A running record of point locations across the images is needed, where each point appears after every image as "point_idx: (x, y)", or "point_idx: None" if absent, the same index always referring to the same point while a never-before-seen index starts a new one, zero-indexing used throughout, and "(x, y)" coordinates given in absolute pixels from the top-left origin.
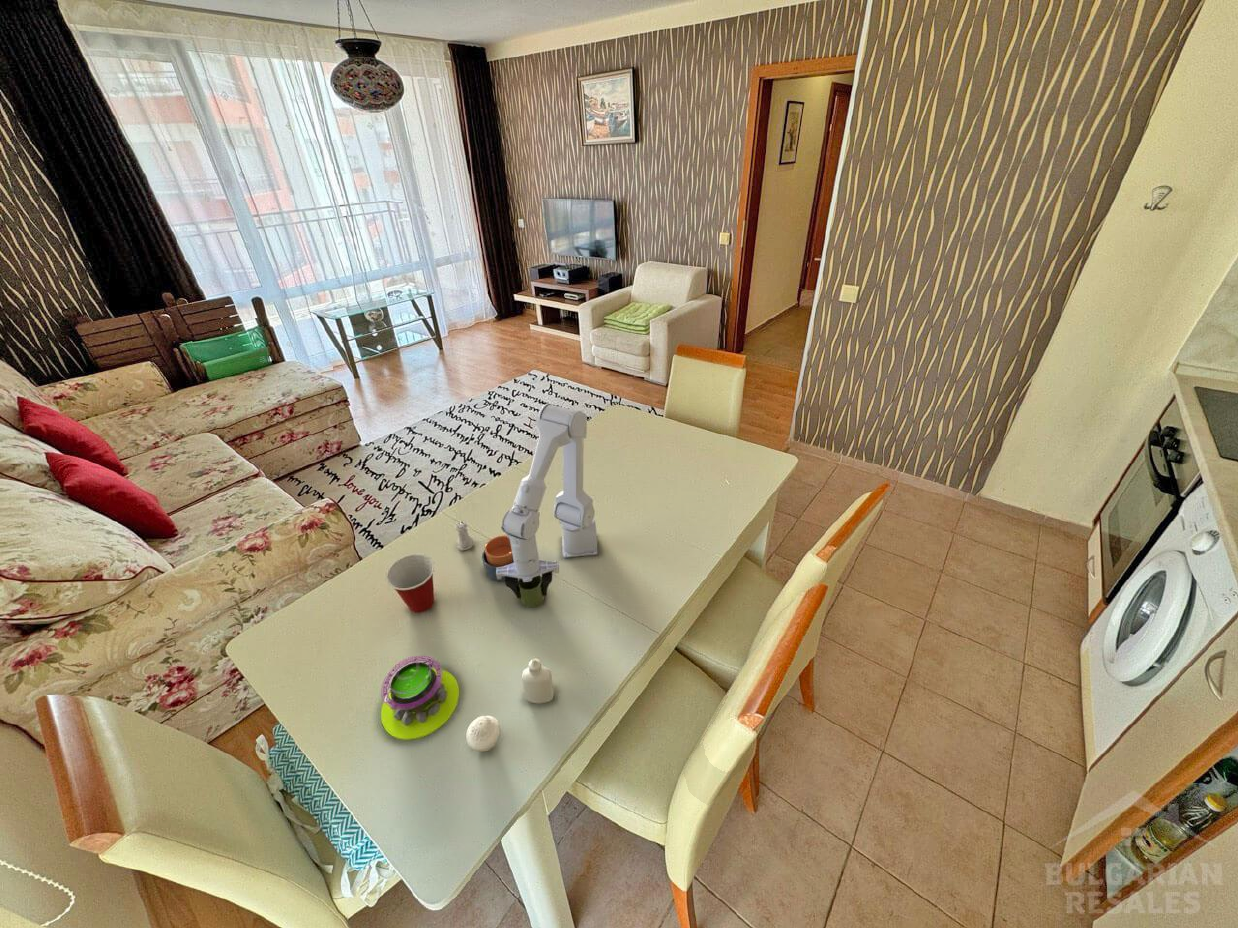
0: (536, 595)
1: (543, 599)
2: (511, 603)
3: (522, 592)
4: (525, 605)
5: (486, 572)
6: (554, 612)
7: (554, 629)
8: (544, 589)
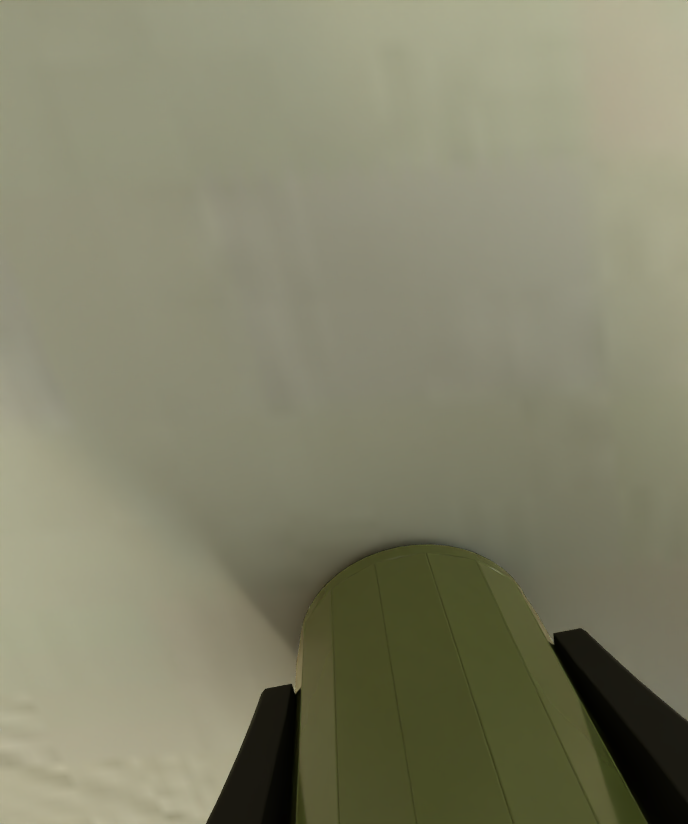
0: (351, 706)
1: (300, 636)
2: (619, 569)
3: (580, 755)
4: (476, 557)
5: None
6: (146, 504)
7: (61, 277)
8: (246, 811)
